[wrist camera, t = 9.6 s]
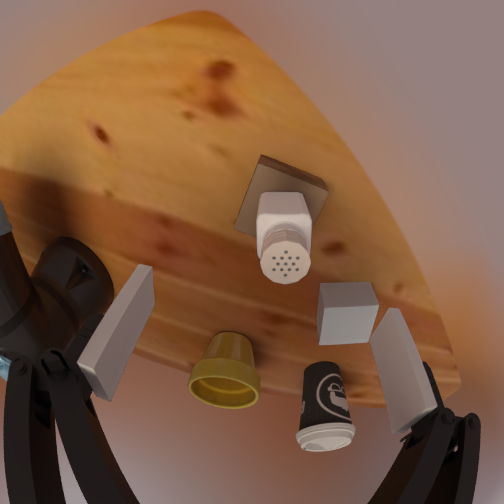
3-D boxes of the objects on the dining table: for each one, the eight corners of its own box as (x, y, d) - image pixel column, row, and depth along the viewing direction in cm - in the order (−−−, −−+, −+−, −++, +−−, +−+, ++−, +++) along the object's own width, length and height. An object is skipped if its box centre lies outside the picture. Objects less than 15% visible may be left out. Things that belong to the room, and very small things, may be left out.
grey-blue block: (316, 319, 39) (318, 345, 34) (320, 282, 35) (324, 307, 31) (360, 317, 38) (367, 342, 33) (369, 280, 34) (379, 305, 30)
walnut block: (239, 210, 31) (233, 229, 27) (261, 154, 27) (258, 163, 23) (295, 231, 32) (298, 252, 27) (321, 178, 28) (329, 192, 24)
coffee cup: (295, 358, 43) (295, 437, 30) (350, 353, 42) (362, 431, 29) (296, 385, 48) (295, 454, 35) (343, 382, 47) (350, 449, 34)
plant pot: (253, 368, 46) (247, 414, 37) (197, 353, 45) (184, 398, 37) (272, 333, 41) (269, 386, 32) (207, 315, 40) (191, 367, 31)
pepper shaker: (302, 230, 26) (314, 289, 18) (260, 230, 26) (254, 289, 18) (303, 190, 24) (320, 235, 16) (259, 190, 24) (252, 234, 16)
